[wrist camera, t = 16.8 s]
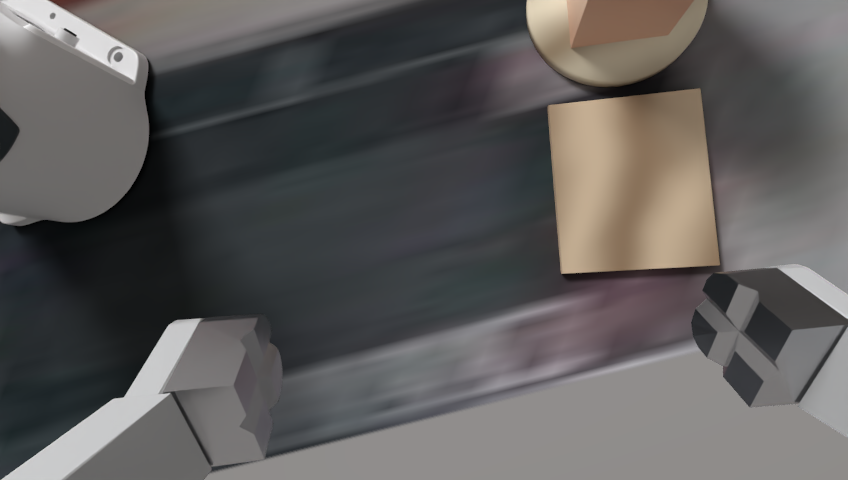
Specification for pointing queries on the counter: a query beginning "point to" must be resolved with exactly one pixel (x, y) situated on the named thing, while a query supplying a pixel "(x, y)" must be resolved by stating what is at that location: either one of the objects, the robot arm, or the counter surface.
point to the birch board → (607, 47)
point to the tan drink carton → (621, 19)
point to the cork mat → (632, 183)
